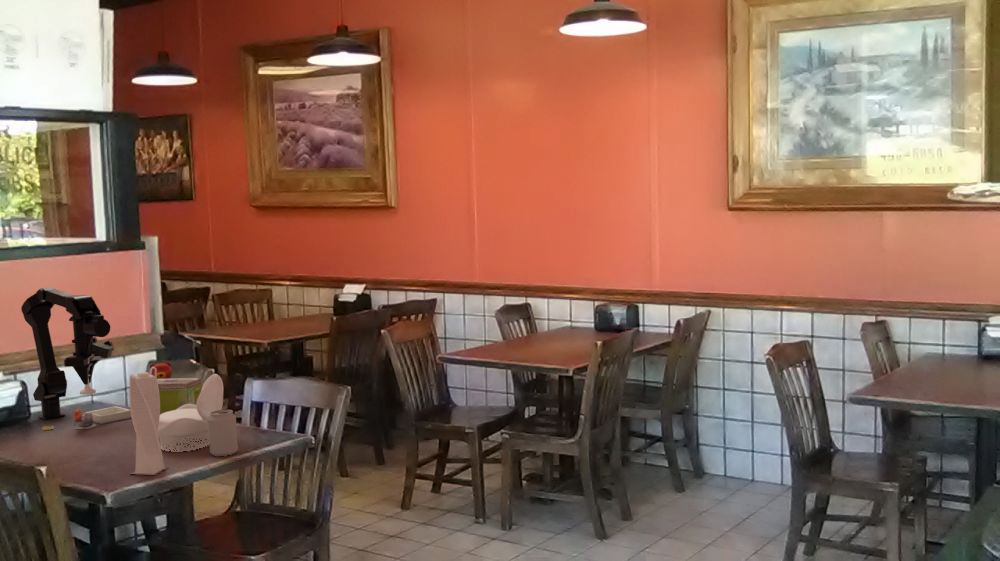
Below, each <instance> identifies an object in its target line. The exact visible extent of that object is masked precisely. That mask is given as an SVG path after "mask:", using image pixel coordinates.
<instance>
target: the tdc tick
mask: <svg viewBox="0 0 1000 561" xmlns="http://www.w3.org/2000/svg"><path fill="white" fill-rule="evenodd" d="M41 429H42V431H50V430H51V429H53V430H54V425H43V426H42V428H41Z"/></svg>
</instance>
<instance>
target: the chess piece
mask: <svg viewBox="0 0 1000 561" xmlns="http://www.w3.org/2000/svg"><path fill="white" fill-rule="evenodd" d="M89 369H90V368H89ZM89 376H90V375H89ZM96 393H97V389H94V388H92V387H91V385H90V383H89V377H88V384H86V385H84V388H83V389H82V390H80V391H79V395H83V396H84V395H92V394H96Z"/></svg>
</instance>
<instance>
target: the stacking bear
mask: <svg viewBox="0 0 1000 561" xmlns="http://www.w3.org/2000/svg"><path fill="white" fill-rule="evenodd" d="M152 367H155V368H156V369H157V379H170V378H172V374H173V371H172V368H171V367H172V364H171V362H165V363H163V362H159V363H156V364H155V363H151V364H150V365H149V369H151V368H152ZM152 375H153V376H155V369H154V368H153V369H152Z"/></svg>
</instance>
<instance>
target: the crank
mask: <svg viewBox="0 0 1000 561" xmlns="http://www.w3.org/2000/svg"><path fill="white" fill-rule="evenodd" d="M72 416H73V426H74V427H75V426H90V425H93V423H94V422H93V414H92V413H85V412H82V408H81V407H77V408H76V409H75V410H73V412H72Z"/></svg>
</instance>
